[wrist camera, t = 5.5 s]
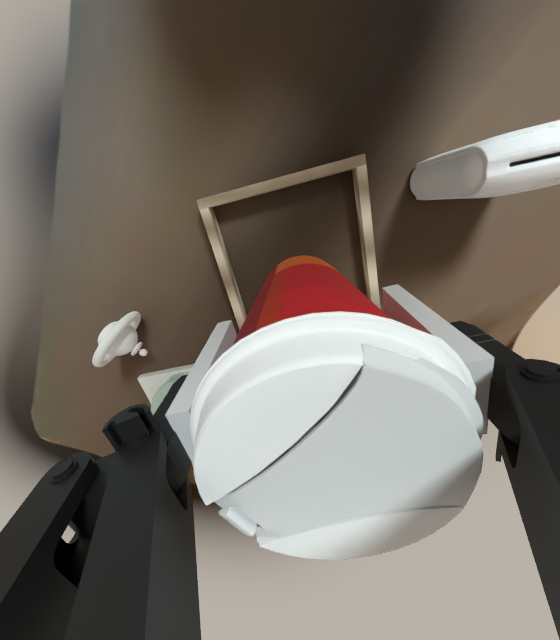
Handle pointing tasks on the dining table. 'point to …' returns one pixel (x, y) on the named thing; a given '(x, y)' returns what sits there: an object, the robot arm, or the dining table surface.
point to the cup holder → (161, 383)
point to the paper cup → (334, 422)
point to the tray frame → (352, 163)
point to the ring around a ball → (118, 340)
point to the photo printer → (492, 166)
